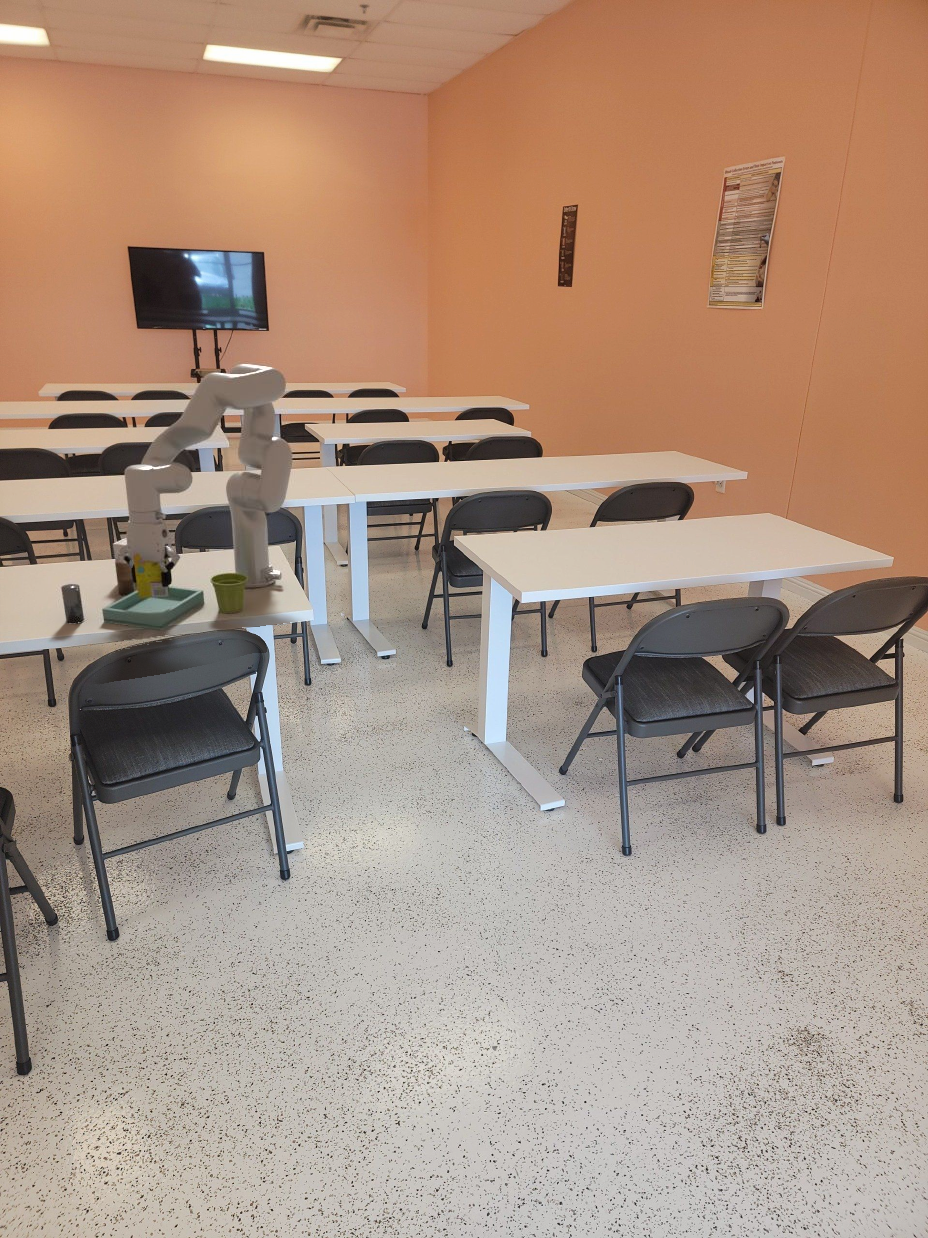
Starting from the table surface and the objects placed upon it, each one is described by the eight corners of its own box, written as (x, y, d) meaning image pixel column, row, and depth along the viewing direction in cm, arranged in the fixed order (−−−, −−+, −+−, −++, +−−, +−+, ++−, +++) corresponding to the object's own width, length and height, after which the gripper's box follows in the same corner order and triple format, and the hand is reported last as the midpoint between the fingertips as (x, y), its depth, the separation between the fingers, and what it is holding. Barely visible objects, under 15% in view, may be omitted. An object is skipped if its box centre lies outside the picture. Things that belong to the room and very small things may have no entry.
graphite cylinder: (87, 618, 200) (82, 585, 196) (77, 624, 196) (71, 590, 193) (73, 616, 200) (68, 583, 197) (62, 622, 197) (57, 588, 193)
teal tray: (204, 602, 213) (203, 590, 212) (161, 630, 195) (160, 616, 194) (150, 595, 216) (149, 583, 215) (103, 622, 198) (102, 608, 197)
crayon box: (169, 593, 206) (165, 550, 202) (168, 597, 204) (164, 553, 199) (139, 594, 204) (134, 551, 200) (138, 598, 202) (133, 554, 197)
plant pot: (233, 600, 216) (231, 570, 212) (257, 609, 211) (255, 578, 208) (205, 610, 209) (202, 578, 205) (228, 619, 204) (226, 587, 200)
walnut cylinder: (137, 591, 219) (134, 560, 215) (128, 596, 215) (125, 564, 212) (124, 590, 219) (121, 558, 216) (115, 594, 216) (111, 563, 212)
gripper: (185, 516, 198) (191, 583, 204) (123, 509, 201) (131, 575, 208) (168, 523, 191) (175, 592, 198) (104, 515, 194) (113, 584, 201)
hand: (152, 583), depth 203 cm, fingers closed on crayon box, 7 cm apart
